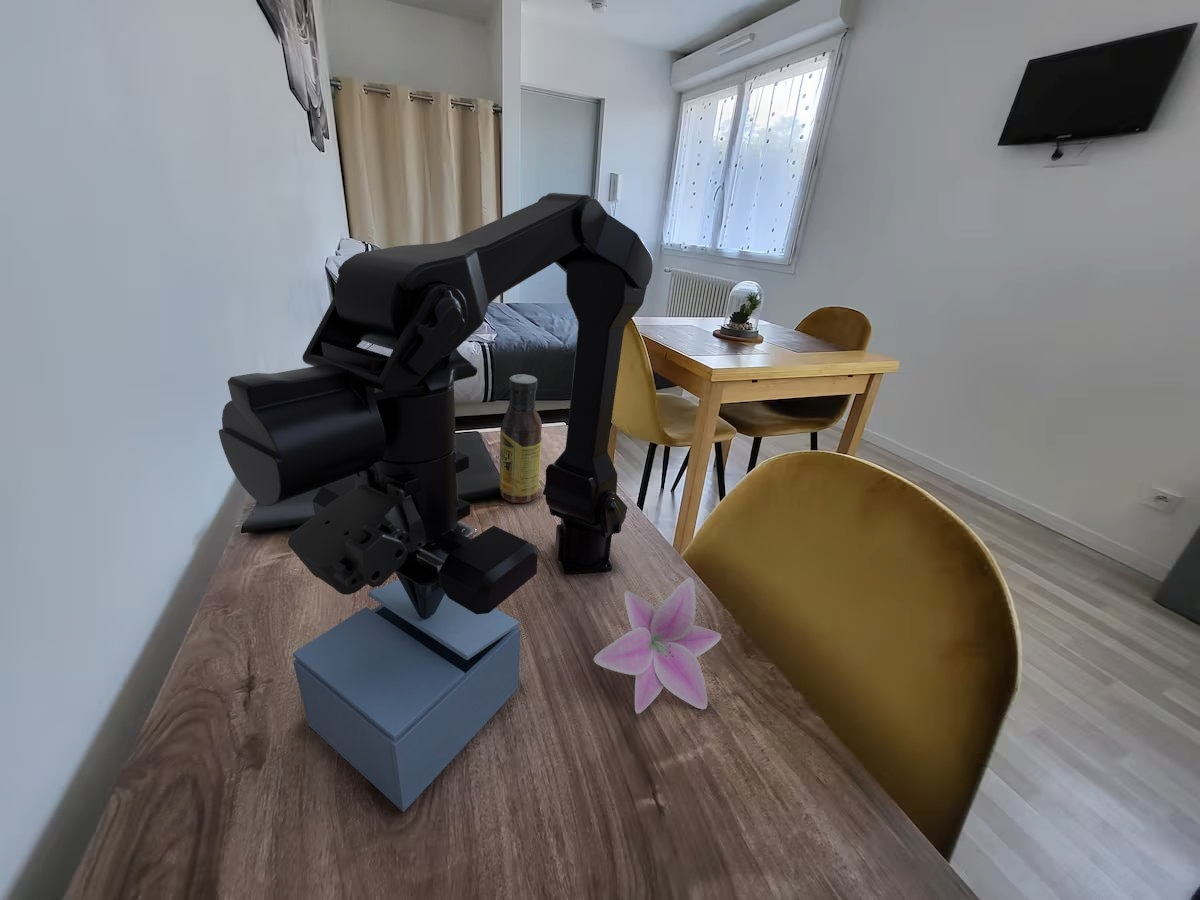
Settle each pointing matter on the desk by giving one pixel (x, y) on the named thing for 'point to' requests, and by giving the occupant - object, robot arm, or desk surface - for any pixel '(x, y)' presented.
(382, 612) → the carton
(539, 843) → the desk surface
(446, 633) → the flap
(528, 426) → the sauce bottle
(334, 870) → the desk surface
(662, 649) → the lily
